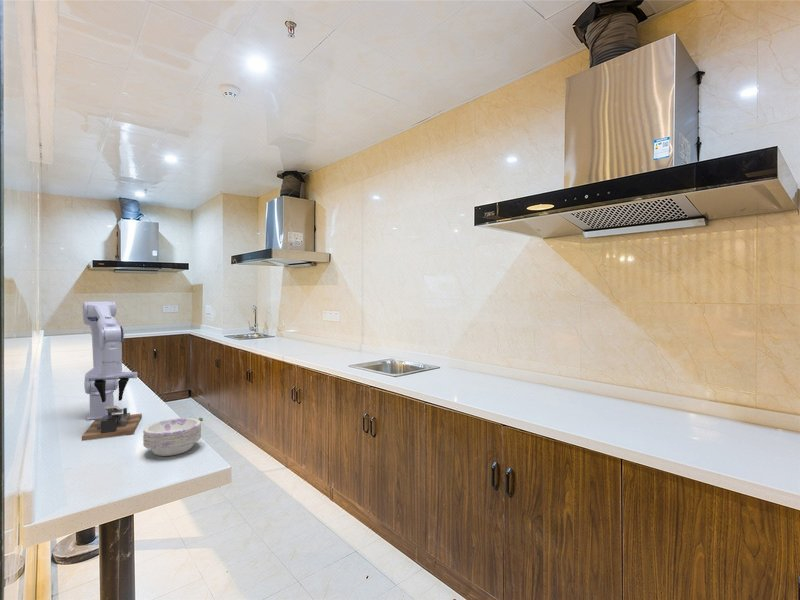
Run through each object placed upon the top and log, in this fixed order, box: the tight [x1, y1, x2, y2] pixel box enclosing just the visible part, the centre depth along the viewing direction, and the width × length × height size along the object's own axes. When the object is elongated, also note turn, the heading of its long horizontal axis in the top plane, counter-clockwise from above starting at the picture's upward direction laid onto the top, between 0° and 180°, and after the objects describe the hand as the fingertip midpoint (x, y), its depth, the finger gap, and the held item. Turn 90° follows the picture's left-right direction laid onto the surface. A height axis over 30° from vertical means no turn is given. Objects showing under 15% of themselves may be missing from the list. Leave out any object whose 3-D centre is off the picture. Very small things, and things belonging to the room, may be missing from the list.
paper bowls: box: [142, 417, 202, 457], centre depth 122 cm, size 15×15×8 cm
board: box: [81, 413, 143, 442], centre depth 141 cm, size 20×14×2 cm
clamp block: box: [97, 407, 131, 433], centre depth 140 cm, size 16×8×4 cm, turn 26°
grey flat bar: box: [105, 405, 123, 414], centre depth 141 cm, size 14×3×1 cm, turn 26°
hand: (112, 400), depth 138 cm, fingers open, 4 cm apart
